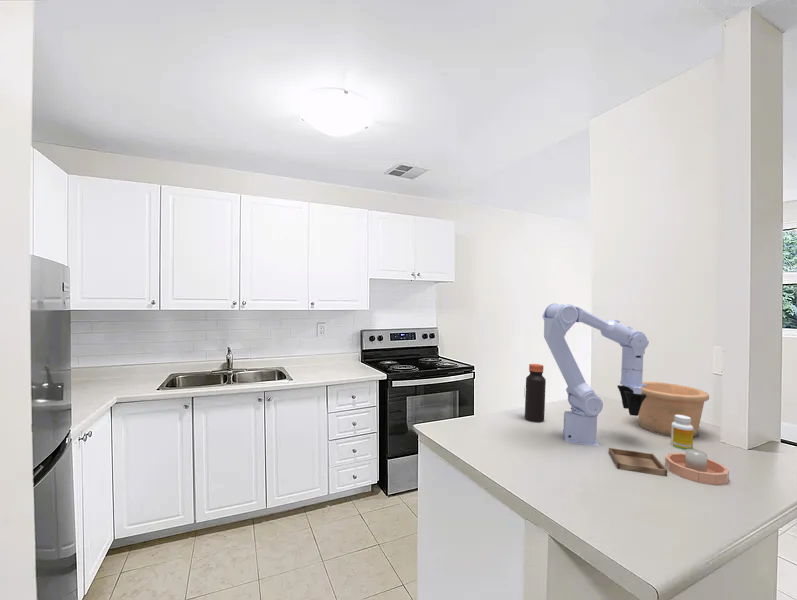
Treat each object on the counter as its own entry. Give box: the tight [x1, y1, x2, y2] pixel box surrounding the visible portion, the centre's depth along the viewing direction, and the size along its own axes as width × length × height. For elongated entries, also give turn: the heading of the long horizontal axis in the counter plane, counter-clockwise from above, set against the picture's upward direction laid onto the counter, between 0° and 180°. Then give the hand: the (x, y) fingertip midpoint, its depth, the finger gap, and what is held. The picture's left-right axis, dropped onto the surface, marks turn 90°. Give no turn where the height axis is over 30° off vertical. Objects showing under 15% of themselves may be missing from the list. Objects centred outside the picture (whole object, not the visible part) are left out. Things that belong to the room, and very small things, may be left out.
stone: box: [685, 448, 708, 472], centre depth 99 cm, size 4×4×5 cm
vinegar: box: [524, 363, 547, 423], centre depth 140 cm, size 7×7×20 cm
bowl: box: [664, 452, 730, 486], centre depth 99 cm, size 13×13×3 cm
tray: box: [608, 447, 668, 477], centre depth 103 cm, size 11×11×2 cm
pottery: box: [638, 381, 710, 438], centre depth 134 cm, size 22×22×14 cm
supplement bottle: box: [670, 415, 694, 451], centre depth 117 cm, size 5×5×10 cm
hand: (630, 411), depth 121 cm, fingers open, 7 cm apart
